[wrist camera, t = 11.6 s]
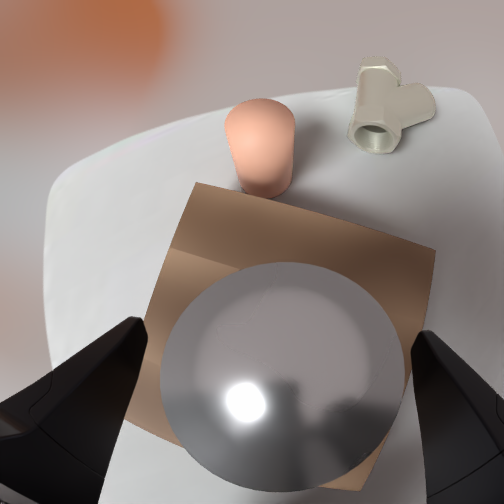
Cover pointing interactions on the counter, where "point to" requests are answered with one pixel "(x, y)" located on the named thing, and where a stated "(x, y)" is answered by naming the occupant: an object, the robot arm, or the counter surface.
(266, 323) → the tall metal pin
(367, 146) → the pipe fitting
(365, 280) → the walnut block
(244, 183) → the short terracotta pin
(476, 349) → the counter surface
